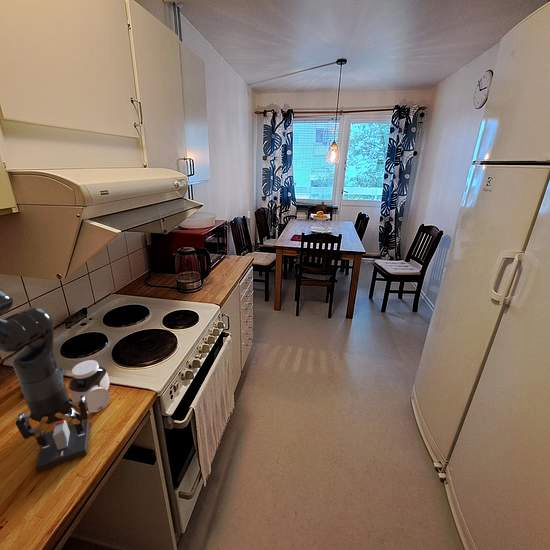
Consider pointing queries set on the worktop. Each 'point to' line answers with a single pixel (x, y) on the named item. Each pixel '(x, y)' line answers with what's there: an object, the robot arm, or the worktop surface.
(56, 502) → the worktop surface
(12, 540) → the worktop surface
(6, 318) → the robot arm
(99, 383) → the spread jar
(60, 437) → the knob
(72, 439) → the fryer panel
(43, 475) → the worktop surface
